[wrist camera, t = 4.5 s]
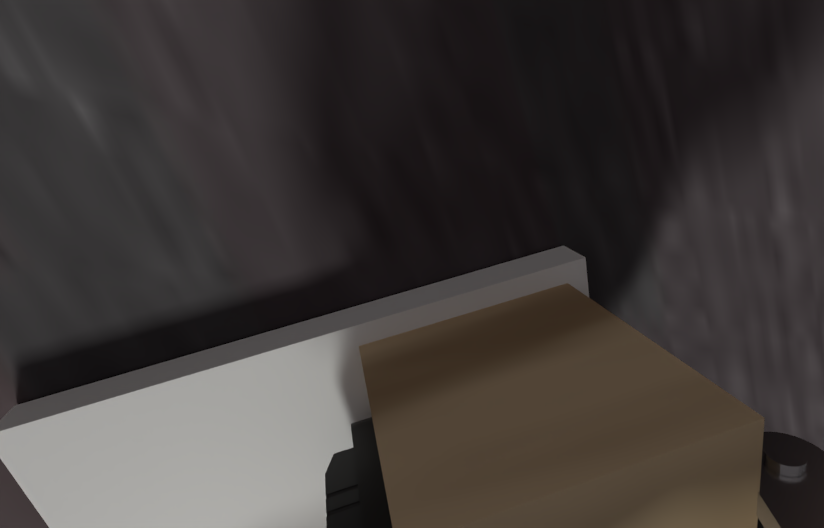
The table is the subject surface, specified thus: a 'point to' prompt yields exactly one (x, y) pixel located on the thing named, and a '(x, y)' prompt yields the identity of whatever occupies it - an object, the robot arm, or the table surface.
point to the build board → (235, 416)
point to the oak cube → (555, 424)
